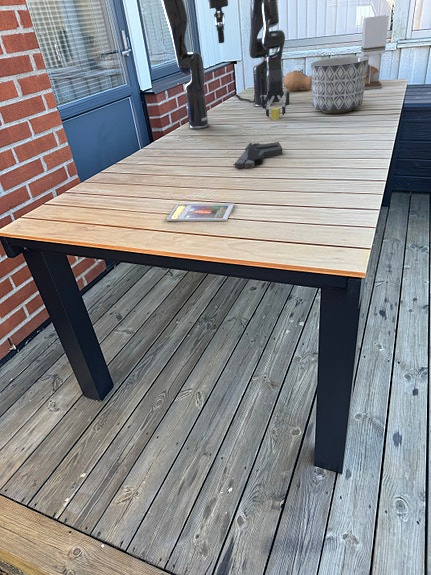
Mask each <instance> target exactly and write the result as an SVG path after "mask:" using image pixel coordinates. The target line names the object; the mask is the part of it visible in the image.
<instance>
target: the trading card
mask: <svg viewBox="0 0 431 575" xmlns="http://www.w3.org/2000/svg"><path fill="white" fill-rule="evenodd" d="M234 207H235V203H176V206H175V207H173V209H172V211H171V212H170V213H169V214H168V216H167V218H166V221H167V222H227V221H228V220H229V217H230V216H231V214H232V211H233V209H234Z"/></svg>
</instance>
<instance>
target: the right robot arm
mask: <svg viewBox="0 0 431 575" xmlns="http://www.w3.org/2000/svg"><path fill="white" fill-rule="evenodd" d="M249 4H250V5H249V6H250V8H249V9H250V10H249V11H250V12H249V15H250V16H249V18H250V22H249V23H250V24H249V25H250V28H249V30H250V32H249V43H248V44H249V45H248V48H249V49H248V53H249V57H250V58H251V59H262V61H260V62H259V63H258V64H256V65H254V66H253V68H252V73H253V74H252V75H253V89H254V90H253V92H254V94H253V100H251V99H249V98H243V97H241V96H240V95H239V94H237V93H233V94H232V95H231V97H232V98H234V97H237V99H238V100H240V101H247V102H249V103H254V106H255V107H257V108H262V109H264V110H265V116H266V117H267V118H270V107H271V105H272V104H274V103H280V105H281V115H282V116H285V114H286V107H287V106H289V105H290V91H284V89H283V88H284V83H283V79H284V76H282V75H283V65H282V64H283V62H282V61H283V60H282V58H283V52H284V47H285V43H286V33H285V32H284V30H282V29H277V30H270V29H271V28H273V27H276V26H277V25H278V24H280V23H279V22H280V16H279V7H278V0H250V3H249ZM261 30H262V37H258V36H259V34H260V32H261ZM273 49H275V52H274V53H272V54H271V50H273ZM283 97H285V102H284V100H283V99H282V98H283Z"/></svg>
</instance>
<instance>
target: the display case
mask: <svg viewBox="0 0 431 575" xmlns="http://www.w3.org/2000/svg"><path fill="white" fill-rule="evenodd" d="M362 21H363V22H362V33H361V35H362V36H361V45H360V46H361V48H360V56H364V57H368V58H369V59H368V66H367V73H366V80H365V87H364V90H373V89H382V86H383V85H382V83H381V82H380V75H381V64H382V55H383V54H385V53H386V46H387V37H388V36H387V35H388V27H389V26H388V25H389V15H386V14H385V15H375V16H368V17H363V20H362Z"/></svg>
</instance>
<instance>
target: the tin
mask: <svg viewBox="0 0 431 575" xmlns="http://www.w3.org/2000/svg"><path fill="white" fill-rule="evenodd" d="M270 118H271V120H273V121H275V120H279V119H281V108H280V107H273V108H270Z"/></svg>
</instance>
